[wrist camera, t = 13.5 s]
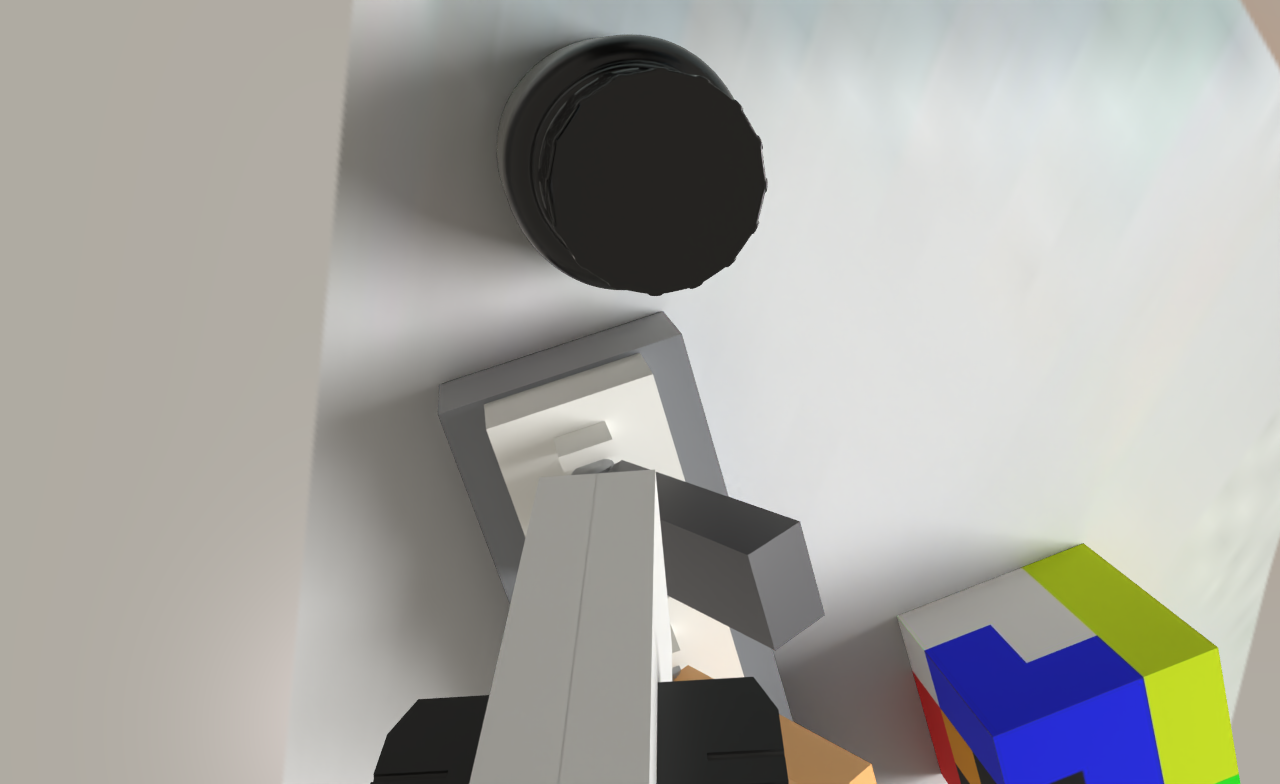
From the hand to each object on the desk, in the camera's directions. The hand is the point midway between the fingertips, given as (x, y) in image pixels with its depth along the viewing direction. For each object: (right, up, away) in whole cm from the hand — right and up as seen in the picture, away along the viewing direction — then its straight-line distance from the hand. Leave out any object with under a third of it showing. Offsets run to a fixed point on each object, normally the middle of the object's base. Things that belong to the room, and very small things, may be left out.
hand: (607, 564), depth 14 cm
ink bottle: (-1, +12, +30) cm, 32 cm away
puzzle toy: (+19, -11, +40) cm, 46 cm away
